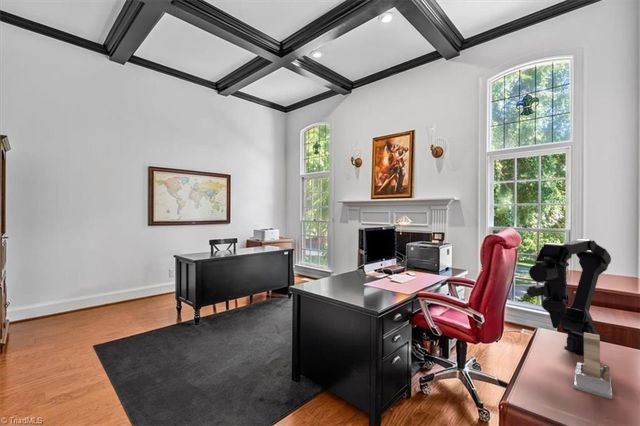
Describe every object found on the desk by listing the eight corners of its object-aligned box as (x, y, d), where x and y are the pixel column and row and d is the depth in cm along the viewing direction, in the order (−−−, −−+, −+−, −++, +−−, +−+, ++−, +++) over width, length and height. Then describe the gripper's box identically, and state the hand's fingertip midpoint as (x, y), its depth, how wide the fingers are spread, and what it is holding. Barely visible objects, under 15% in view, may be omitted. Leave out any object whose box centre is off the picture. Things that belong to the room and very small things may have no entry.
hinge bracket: (575, 369, 98) (575, 353, 98) (610, 378, 93) (609, 361, 93) (573, 388, 88) (573, 370, 88) (612, 399, 82) (612, 380, 82)
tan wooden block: (584, 374, 93) (583, 332, 93) (599, 378, 91) (599, 335, 91) (584, 380, 90) (583, 336, 90) (600, 385, 87) (599, 339, 87)
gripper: (531, 272, 118) (532, 312, 118) (523, 280, 104) (524, 326, 104) (568, 276, 110) (569, 319, 110) (565, 285, 96) (566, 334, 96)
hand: (556, 324), depth 105 cm, fingers open, 9 cm apart
